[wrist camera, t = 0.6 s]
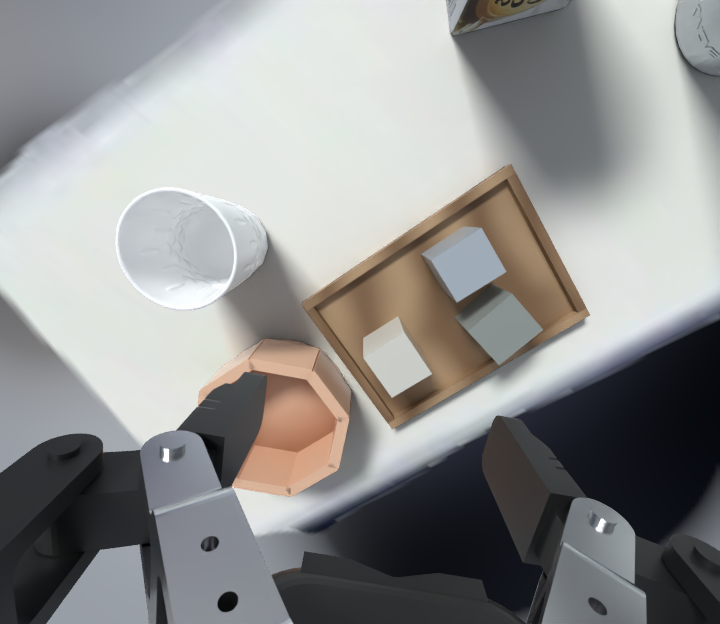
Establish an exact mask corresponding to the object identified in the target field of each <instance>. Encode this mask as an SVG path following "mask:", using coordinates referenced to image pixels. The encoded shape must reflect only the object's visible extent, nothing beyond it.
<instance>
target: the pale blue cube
mask: <svg viewBox="0 0 720 624" xmlns="http://www.w3.org/2000/svg"><path fill="white" fill-rule="evenodd" d="M421 255H422V257H423V259H424V260H425V262H426V263H427V265H428V267H429V268H430V270H431V271H432V273H433V275H434V276H435V278H436V280H437V281H438V283H439V284H440V286H441V288H442V289H443V291H445V292H446V293H447V294H448V295H449V296H450V297H451V298H452V299H454V300H455V301H456V302H459V301H460V300H462V299H463V298H465V297H467V296H468V295H470V294H472V293H473V292H475V291H476V290H478V289H480V288H481V287H483V286H484V285H486V284H488V283H489V282H491V281H493V280H494V279H496V278H497V277H499V276H501V275H502V274H504V273H505V272H506V270H505V268H504V267H503V265H502V263H501V261H500V260H499V258H498V256H497V254H496V253H495V251H494V249H493V247H492V245H491V244H490V242H489V240H488V238H487V237H486V235H485V233H484V231H483V230H482V228H478V227H465V226H463V227H461V228H460V229H458V230H457V231H455V232H454V233H452V234H451V235H449V236H448V237H446V238H445V239H443V240H442V241H440V242H439V243H437V244H435V245H434V246H432V247H431V248H429V249H428V250H426V251H425V252H423V253H422V254H421Z"/></svg>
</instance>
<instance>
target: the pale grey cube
mask: <svg viewBox="0 0 720 624" xmlns="http://www.w3.org/2000/svg"><path fill="white" fill-rule="evenodd" d="M363 358H364V360H365V361H366V362H367V364H368V365H369V367H370V368H371V369H372V371H373V372H374V374H375V375H376V376H377V378H378V379H379V381H380V382H381V383H382V385H383V386H384V388H385V389H386V390H387V392H388V393H389V395H390V396H391V397H394V396H396V395H398V394H399V393H401V392H403V391H404V390H406V389H408V388H409V387H411V386H413V385H414V384H416V383H418V382H419V381H421V380H423V379H425V378H426V377H428V376H430V375H431V374H432V373H431V370H430V368H429V366H428V364H427V362H426V359H425V357H424V355H423V353H422V351H421V349H420V348H419V346H418V345H417V343H416V342H415V340H414V339H413V337H412V336H411V334H410V333H409V331H408V330H407V328H406V327H405V325H404V324H403V322H402V321H401V319H400V318H399V316H398V317H396V318H394V319H393V320H391V321H390V322H388V323H386V324H385V325H383V326H382V327H380V328H379V329H377V330H375V331H374V332H372V333H371V334H369V335H367V336H366V337H364V338H363Z"/></svg>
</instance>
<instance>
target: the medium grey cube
mask: <svg viewBox="0 0 720 624" xmlns="http://www.w3.org/2000/svg"><path fill="white" fill-rule="evenodd" d="M455 318H456V319H457V320H458V322H459V323H460V324H461V325H462V326H463V327H464V328H465V329H466V330H467V331H468V332H469V333H470V335H471V336H472V337H473V338H474V339H475V340H476V341H477V342H478V343H479V344H480V345H481V346H482V347H483V349H484V350H485V351H486V352H487V353H488V354H489V355H490V356H491V357H492V358H493V359H494V360H495V361H496V363H497V364H498V365H500V364H501V363H503V362H504V361H505V360H506V359H508V358H509V357H510V356H511V355H513V354H514V353H515V352H516V351H518V350H519V349H520V348H521V347H523V346H524V345H525V344H526V343H528V342H529V341H530V340H531V339H532V338H534V337H535V336H536V335H537V334H539V333H540V332H541V331H542V330H543V329H542V328H541V326H540V325H539V324H538V323H537V322H536V321H535V320H534V318H533V317H532V316H531V315H530V314H529V313H528V312H527V310H526V309H525V308H524V307H523V306H522V305H521V303H520V302H519V301H518V300H517V299H516V298H515V297H514V295H513V294H512V293H510V292H508V291H506V290H504V289H502V288H500V287H498V286H496V285H494V284H492V285H491V286H490V287H489V288H487V289H486V290H485V291H484V292H483V293H482V294H480V295H479V296H478V297H477V298H476V299H475V300H473V301H472V302H471V303H470V304H469V305H468V306H466V307H465V308H464V309H463V310H462V311H461V312H460V313H458V314H457V315H456V316H455Z"/></svg>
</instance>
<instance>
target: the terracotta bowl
mask: <svg viewBox="0 0 720 624" xmlns="http://www.w3.org/2000/svg"><path fill="white" fill-rule="evenodd" d="M244 372H250V373H256V374H262V375H266V376H267V387H266V396H265V405H264V413H263V420H262V424H261V428H260V431H259V433H258V435H257V437H256V439H255V441H254V443H253V445H252V447H251V449H250V451H249V453H248V455H247V457H246V459H245V461H244V463H243V465H242V467H241V469H240V471H239V473H238V475H237V477H236V479H235V481H234V482H233V484H232V486H234V488H240V489H246V490H252V491H257V492H263V493H269V494H275V495H281V496H287V497H290V495H291V497H292V496H294V495H295V494H297V493H299V492H301V491H302V490H304V489H306V488H308V487H309V486H311V485H313V484H315V483H316V482H318V481H320V480H322V479H323V478H325V477H327V476H329V475H330V474H332V473H334V472H336V471H337V470H338V469H339V466H340V461H341V456H342V452H343V447H344V442H345V438H346V433H347V428H348V424H349V419H350V404H351V389H350V388H349V386H348V385H347V384H346V382H345V381H344V378H343V376H342V374H341V372H340V371H339V369H338V368H337V366H336V365H335V364H334V363H333V361H332V360H331V359H330V358H329V357H327V356H326V355H325V354H324V353H323V351H322V350H321V349H320V350H319V348H316V347H312V346H310V345H308V344H305V343H303V342H299V341H295V340H287V339H276V340H273V339H268V338H266V339H263V340H261V341H260V342H258V343H257V344H255V345H253V346H251V347H250V348H248V349H246V350H245V351H243V352H242V353H241V354H240V355H239V356H237V357H236V358H234V359H233V360H231V361H230V362H228V363H227V364H225V365H224V366H222V368H221V369H220V370H219V371H218V372H217V373H216V374H215V375H214V376H213V377H212V378H211V379H210V380H209V381H208V382H207V383H206V384H205V385H204V386H203V388H202V389H201V390H200V391H199V399H198V406H199V404H200V403H201V402H202V401H203V400H205V398H206V397H207V395H208V394H209V393H210V392H211V391H212V390H213V389H215V388H217V387H219V386H221V385H223V384H225V383H228V384H235V383H236V382H237V380H238V379H239V378H240V377H241V375H242V374H243V373H244Z"/></svg>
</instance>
